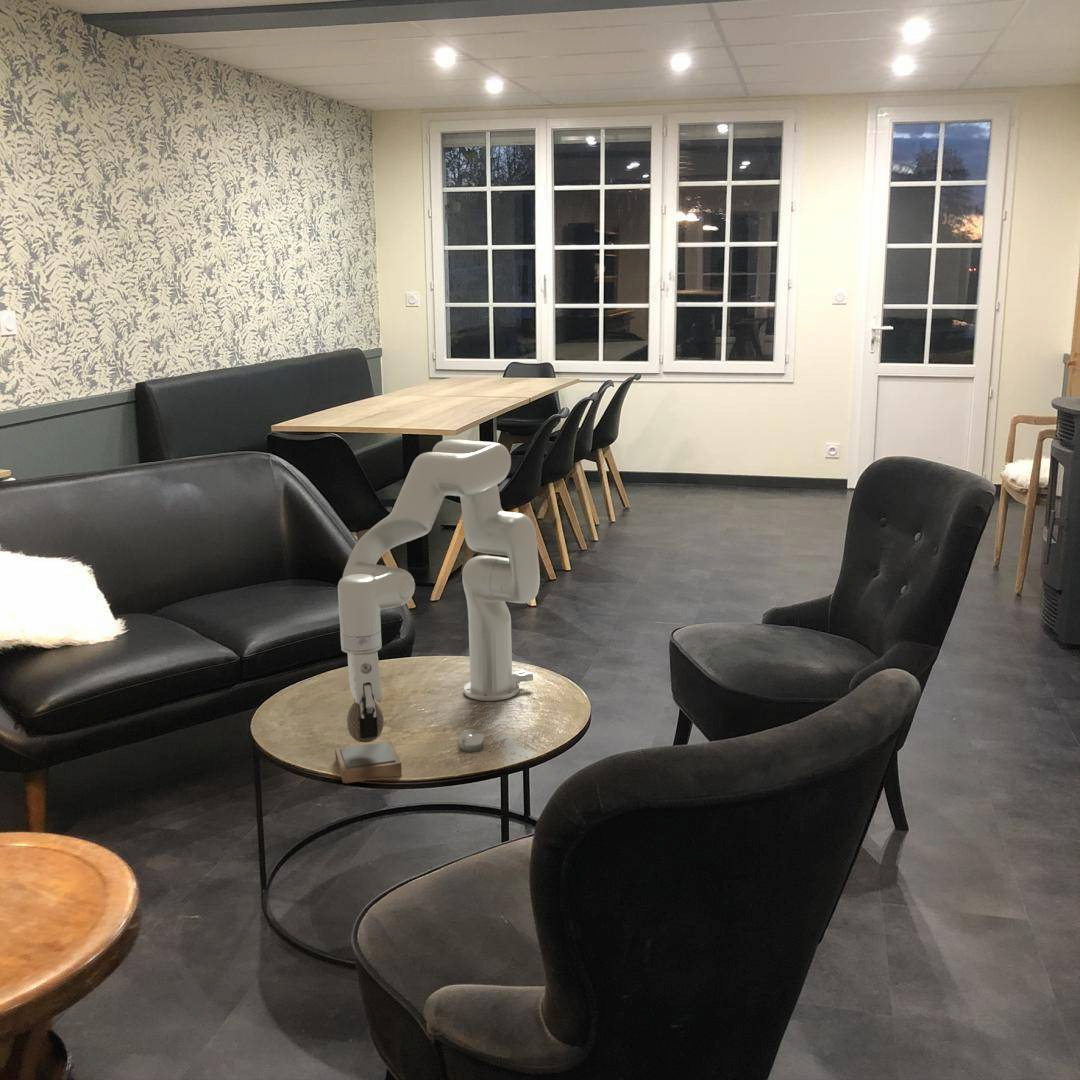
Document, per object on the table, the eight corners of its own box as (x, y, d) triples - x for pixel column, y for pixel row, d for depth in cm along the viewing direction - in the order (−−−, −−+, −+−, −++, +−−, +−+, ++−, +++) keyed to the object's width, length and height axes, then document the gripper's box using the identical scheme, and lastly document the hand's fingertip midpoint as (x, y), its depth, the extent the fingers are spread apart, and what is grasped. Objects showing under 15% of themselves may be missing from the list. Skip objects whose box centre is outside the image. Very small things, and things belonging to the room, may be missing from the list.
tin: (480, 742, 226) (479, 728, 225) (486, 751, 221) (486, 737, 220) (456, 745, 224) (455, 731, 223) (461, 755, 219) (461, 740, 219)
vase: (390, 733, 215) (388, 690, 213) (375, 747, 209) (373, 703, 207) (357, 730, 217) (354, 687, 215) (341, 743, 210) (339, 700, 208)
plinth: (391, 752, 221) (390, 739, 220) (401, 775, 211) (401, 761, 210) (335, 760, 218) (334, 747, 217) (343, 783, 207) (342, 769, 207)
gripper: (389, 652, 201) (393, 744, 205) (373, 625, 218) (378, 711, 222) (347, 656, 199) (352, 749, 203) (335, 629, 215) (340, 716, 219)
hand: (365, 729), depth 212 cm, fingers closed on vase, 6 cm apart
